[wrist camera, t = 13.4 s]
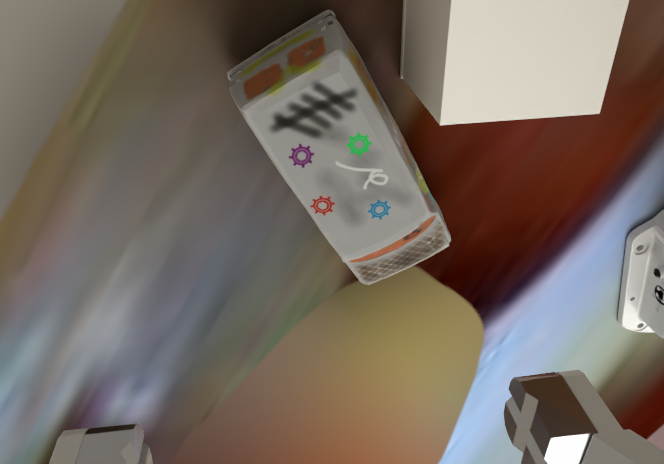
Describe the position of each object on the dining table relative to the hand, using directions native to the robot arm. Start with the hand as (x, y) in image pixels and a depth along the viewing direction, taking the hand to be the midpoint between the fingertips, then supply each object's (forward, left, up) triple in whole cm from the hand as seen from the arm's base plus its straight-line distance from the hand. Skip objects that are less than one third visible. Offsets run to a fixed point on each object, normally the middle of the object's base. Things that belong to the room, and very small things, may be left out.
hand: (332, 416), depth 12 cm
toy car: (-11, -6, -39) cm, 41 cm away
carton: (+2, -17, -39) cm, 43 cm away
